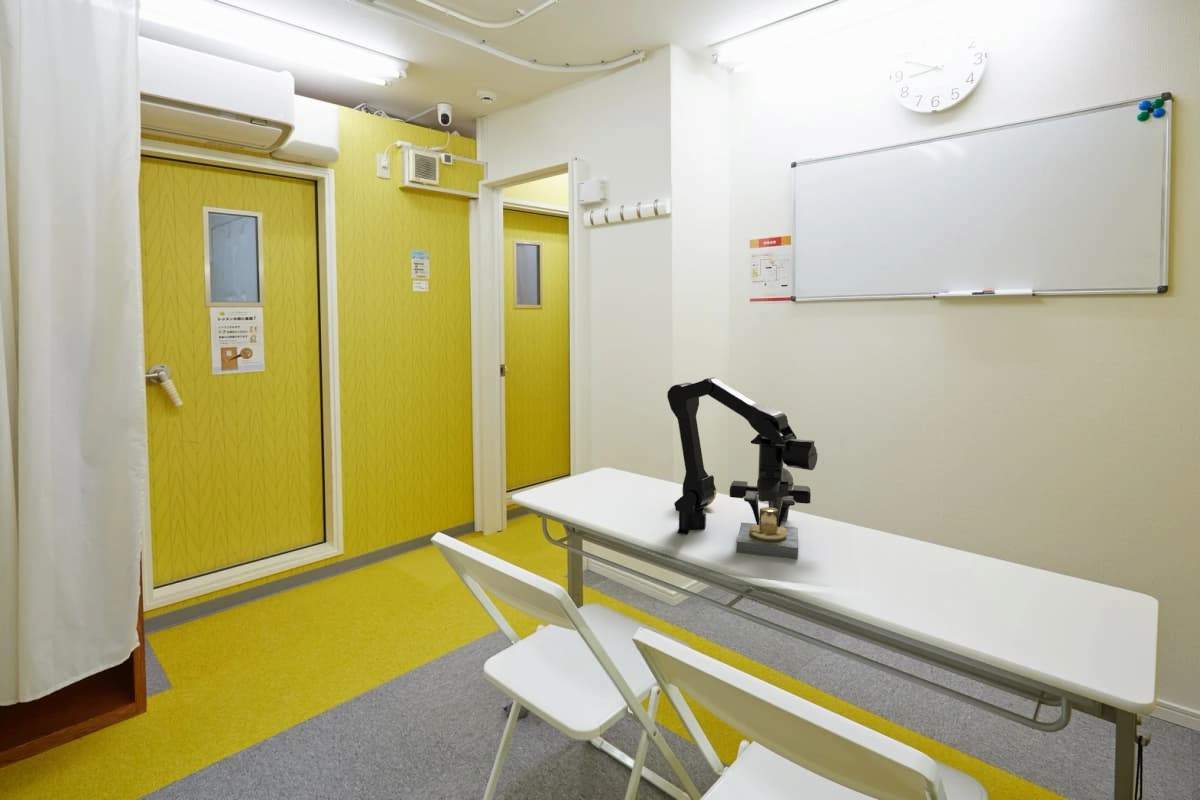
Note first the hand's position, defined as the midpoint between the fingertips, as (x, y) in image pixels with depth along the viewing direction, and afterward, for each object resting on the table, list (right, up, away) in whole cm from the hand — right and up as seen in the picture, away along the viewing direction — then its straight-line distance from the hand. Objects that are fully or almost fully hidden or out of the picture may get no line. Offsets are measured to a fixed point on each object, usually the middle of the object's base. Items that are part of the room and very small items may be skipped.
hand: (768, 525), depth 157 cm
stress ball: (-12, -1, +33) cm, 36 cm away
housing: (0, -6, +1) cm, 6 cm away
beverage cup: (+8, -3, +20) cm, 22 cm away
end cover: (0, -5, +1) cm, 5 cm away
